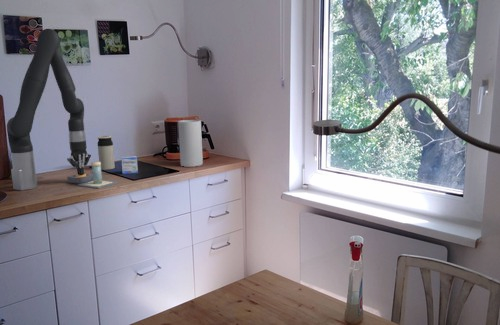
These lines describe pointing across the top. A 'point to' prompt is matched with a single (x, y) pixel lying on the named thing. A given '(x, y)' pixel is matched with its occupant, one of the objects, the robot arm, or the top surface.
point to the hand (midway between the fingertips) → (81, 175)
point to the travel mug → (106, 152)
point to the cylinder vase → (190, 143)
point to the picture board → (103, 184)
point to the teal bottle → (96, 172)
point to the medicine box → (129, 165)
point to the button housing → (80, 179)
